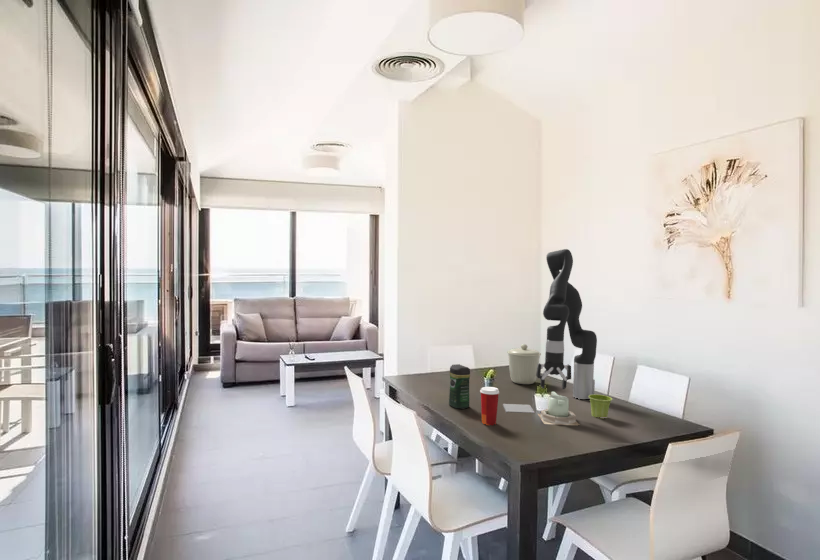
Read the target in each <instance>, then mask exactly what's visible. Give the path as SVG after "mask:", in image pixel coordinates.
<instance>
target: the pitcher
mask: <svg viewBox="0 0 820 560" xmlns="http://www.w3.org/2000/svg"><path fill="white" fill-rule="evenodd" d="M569 399H570V398H569V397H567V396H564V395H559V394H558V393H556V391H551V393H550V395H548V404H547V405H548V407H547V409H548V415H551V416H555V417H568V411H570V410H569V409H570V408H569V406H570V405H569V403H570V400H569Z"/></svg>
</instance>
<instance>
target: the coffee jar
mask: <svg viewBox="0 0 820 560" xmlns="http://www.w3.org/2000/svg"><path fill="white" fill-rule="evenodd" d="M470 377H471V369H470V368H469V367H467V366H464V365H462V364H460V363H459V364H458V363H457V364H452V365H450V367H449V395H448V397H449V398H448V404H449V406H451V408H452V407H453V408H455V409H461V410H463V409H467V408H469V407H470Z"/></svg>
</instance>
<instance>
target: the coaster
mask: <svg viewBox="0 0 820 560" xmlns="http://www.w3.org/2000/svg"><path fill="white" fill-rule="evenodd" d="M502 407H503V409H504V411H505V413H506V414H508V413H520V414H522V413H524V414H528V413H529V414H535V413H536V412H535V411H534V409H533V408H532V406H531V405H530V404H521V403H520V404H517V403H516V404H515V403H502Z"/></svg>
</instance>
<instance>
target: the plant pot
mask: <svg viewBox="0 0 820 560" xmlns="http://www.w3.org/2000/svg"><path fill="white" fill-rule="evenodd" d="M589 398H590V400H589V401H590V410H591V411H590V413H591V414H590V415H591V417H593V416H594V417H593V418H596V417H607V418H608V415H609V409H610V405H611V402H612V401H613V398H612V397H610V396H608V395H603V394H594V395H589Z"/></svg>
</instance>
